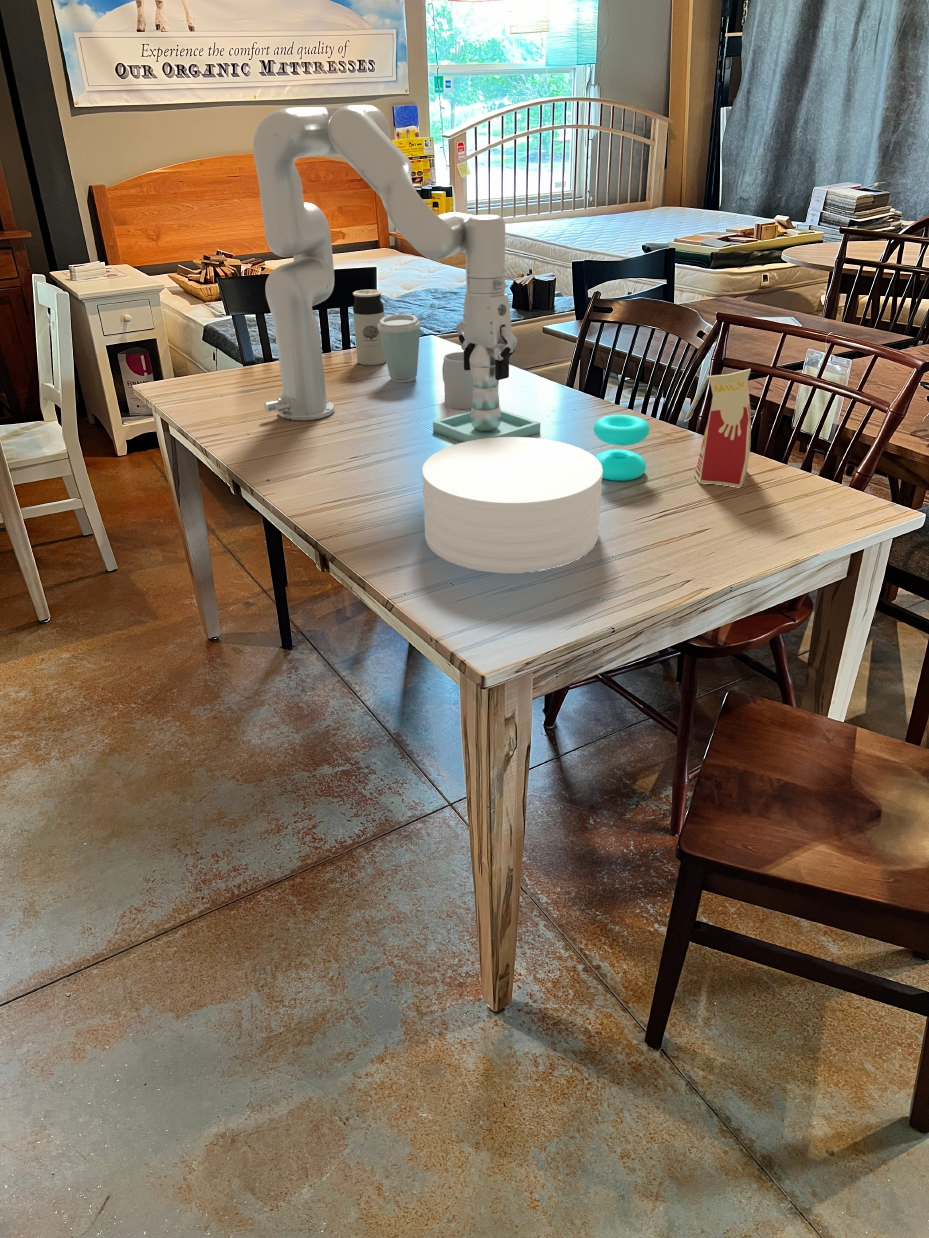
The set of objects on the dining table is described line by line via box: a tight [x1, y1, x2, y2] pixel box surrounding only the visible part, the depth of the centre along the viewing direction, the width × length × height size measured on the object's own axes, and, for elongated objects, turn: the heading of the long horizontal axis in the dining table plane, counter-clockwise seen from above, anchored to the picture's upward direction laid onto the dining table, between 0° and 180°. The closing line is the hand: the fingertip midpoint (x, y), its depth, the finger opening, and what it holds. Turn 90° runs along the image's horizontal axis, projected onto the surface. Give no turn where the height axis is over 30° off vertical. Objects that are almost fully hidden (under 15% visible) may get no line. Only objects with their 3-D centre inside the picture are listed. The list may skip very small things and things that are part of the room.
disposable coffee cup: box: [377, 313, 422, 383], centre depth 215 cm, size 11×11×15 cm
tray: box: [432, 408, 541, 443], centre depth 182 cm, size 16×16×2 cm
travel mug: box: [352, 289, 387, 366], centre depth 229 cm, size 8×8×18 cm
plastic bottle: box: [469, 342, 502, 431], centre depth 177 cm, size 6×7×20 cm
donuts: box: [593, 414, 650, 482], centre depth 159 cm, size 10×10×10 cm
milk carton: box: [694, 368, 752, 488], centre depth 154 cm, size 9×9×20 cm
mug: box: [441, 351, 473, 411], centre depth 198 cm, size 12×8×11 cm
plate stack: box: [421, 437, 603, 574], centre depth 138 cm, size 28×28×12 cm
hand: (486, 374), depth 177 cm, fingers open, 9 cm apart
